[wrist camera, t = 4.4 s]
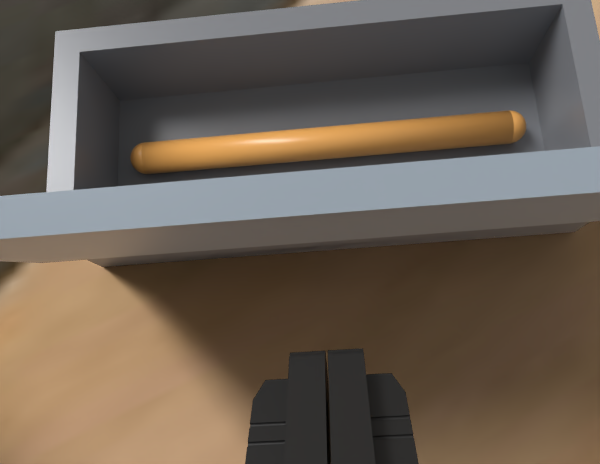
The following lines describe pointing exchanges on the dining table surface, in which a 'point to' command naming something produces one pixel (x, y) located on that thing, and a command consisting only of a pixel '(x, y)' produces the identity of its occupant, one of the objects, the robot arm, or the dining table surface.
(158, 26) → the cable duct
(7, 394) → the dining table surface
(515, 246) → the dining table surface
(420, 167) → the duct lid
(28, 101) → the dining table surface
